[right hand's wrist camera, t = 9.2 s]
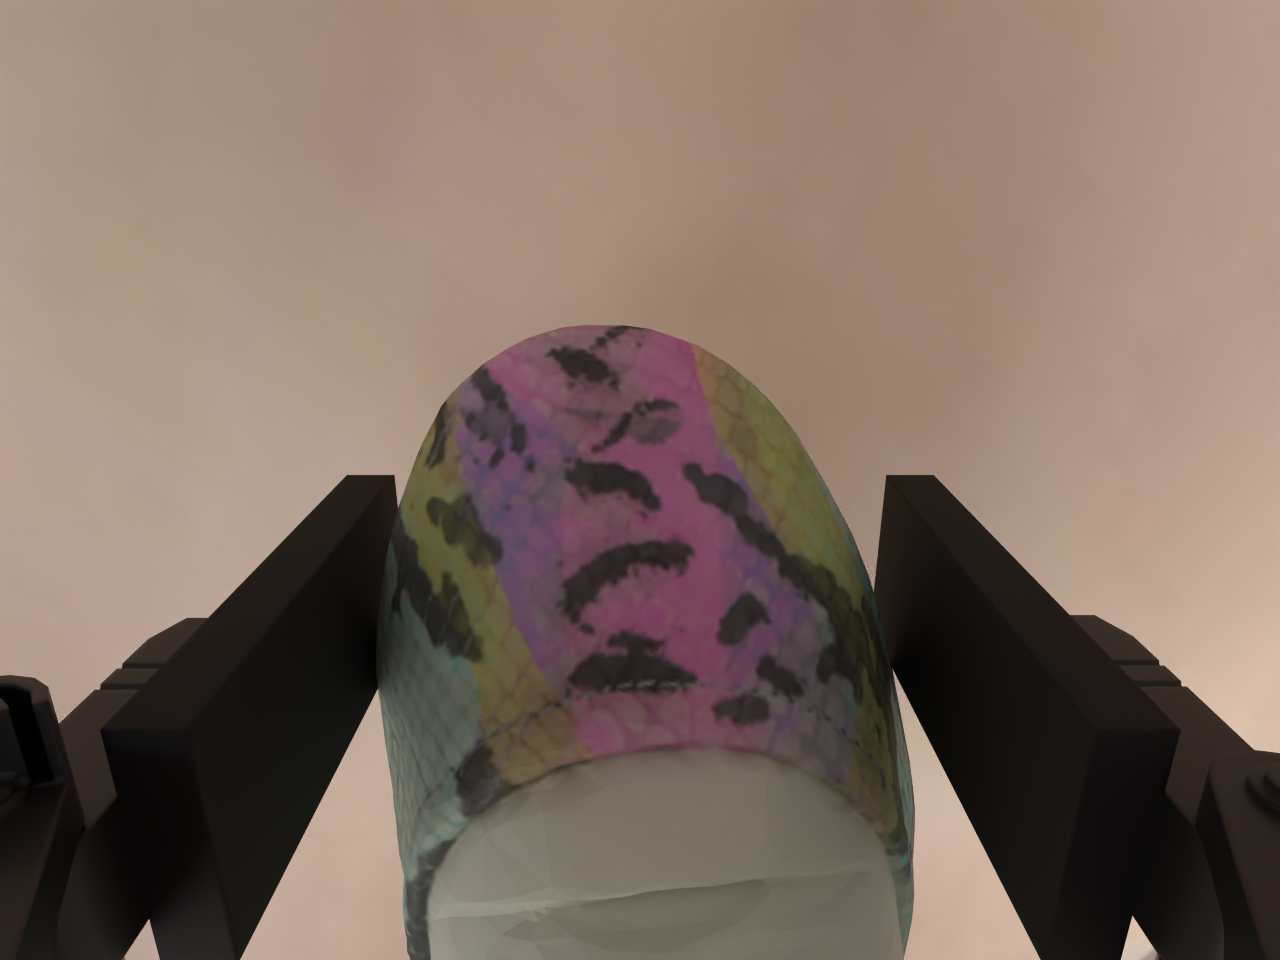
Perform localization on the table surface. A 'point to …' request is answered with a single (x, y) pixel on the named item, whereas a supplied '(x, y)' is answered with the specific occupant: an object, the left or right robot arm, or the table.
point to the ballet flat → (636, 674)
